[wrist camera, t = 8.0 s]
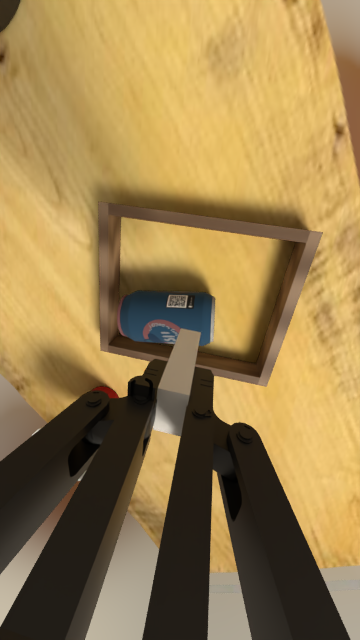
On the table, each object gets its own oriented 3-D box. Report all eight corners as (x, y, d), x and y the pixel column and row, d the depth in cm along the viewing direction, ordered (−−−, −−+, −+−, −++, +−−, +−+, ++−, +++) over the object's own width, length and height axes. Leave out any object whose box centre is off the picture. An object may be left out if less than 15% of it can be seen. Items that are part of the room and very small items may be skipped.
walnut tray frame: (112, 205, 28) (98, 201, 25) (309, 232, 25) (323, 232, 22) (111, 340, 36) (100, 350, 32) (262, 371, 33) (266, 386, 30)
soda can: (212, 356, 28) (126, 349, 30) (214, 314, 32) (138, 311, 34) (213, 326, 23) (108, 321, 25) (216, 280, 27) (125, 279, 29)
